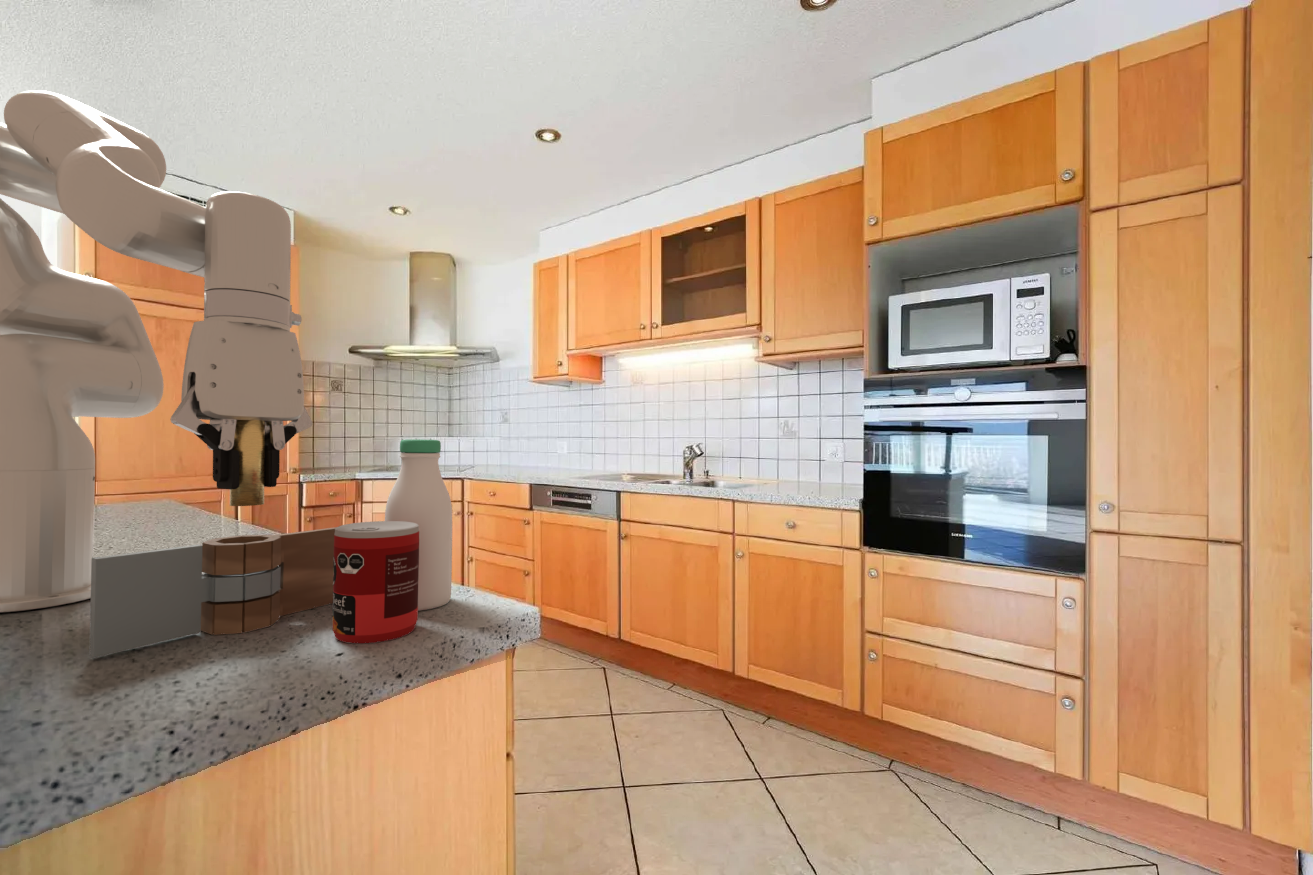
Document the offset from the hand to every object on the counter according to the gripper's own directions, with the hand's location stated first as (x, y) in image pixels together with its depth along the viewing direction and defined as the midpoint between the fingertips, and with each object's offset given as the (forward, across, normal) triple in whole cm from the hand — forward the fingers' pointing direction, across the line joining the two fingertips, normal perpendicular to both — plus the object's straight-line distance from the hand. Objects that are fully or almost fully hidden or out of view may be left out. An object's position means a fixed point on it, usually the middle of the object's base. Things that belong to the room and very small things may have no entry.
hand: (247, 485), depth 62 cm
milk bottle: (+15, -15, +8) cm, 23 cm away
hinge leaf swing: (+14, +5, -1) cm, 15 cm away
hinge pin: (+2, 0, 0) cm, 2 cm away
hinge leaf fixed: (+15, -5, -1) cm, 15 cm away
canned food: (+15, -6, +13) cm, 21 cm away
